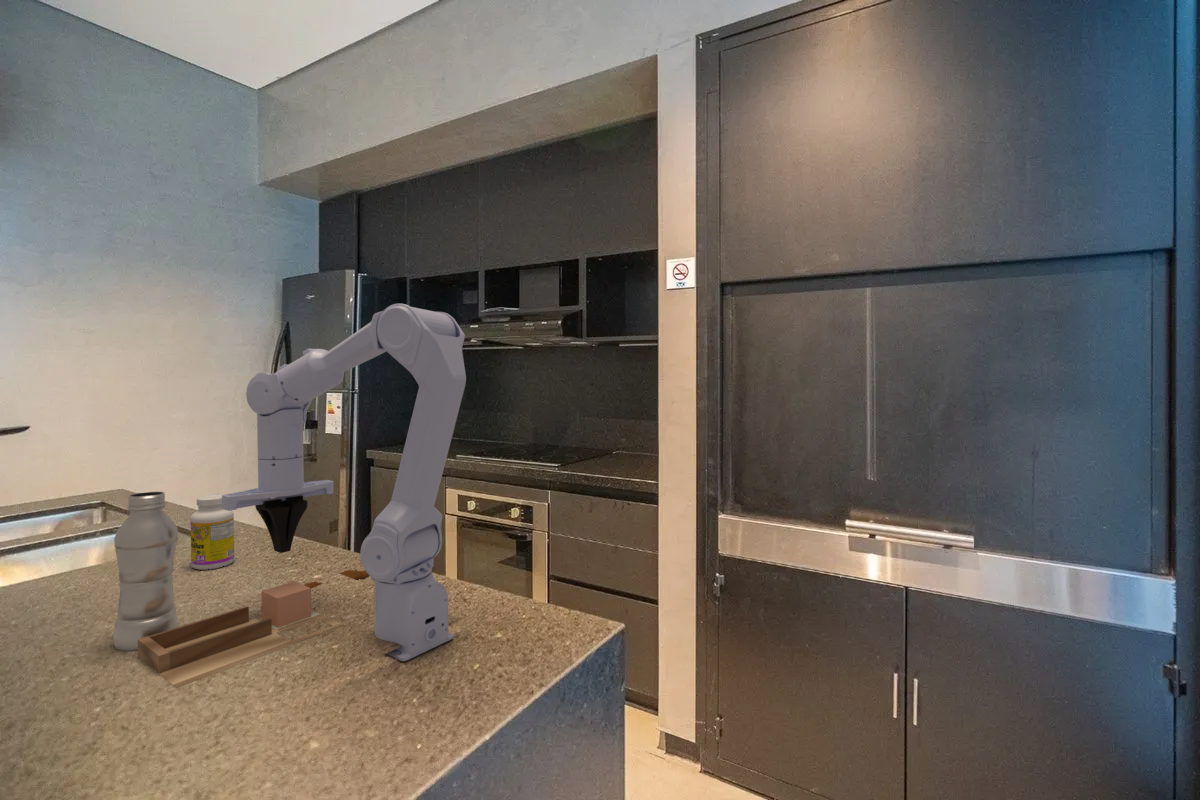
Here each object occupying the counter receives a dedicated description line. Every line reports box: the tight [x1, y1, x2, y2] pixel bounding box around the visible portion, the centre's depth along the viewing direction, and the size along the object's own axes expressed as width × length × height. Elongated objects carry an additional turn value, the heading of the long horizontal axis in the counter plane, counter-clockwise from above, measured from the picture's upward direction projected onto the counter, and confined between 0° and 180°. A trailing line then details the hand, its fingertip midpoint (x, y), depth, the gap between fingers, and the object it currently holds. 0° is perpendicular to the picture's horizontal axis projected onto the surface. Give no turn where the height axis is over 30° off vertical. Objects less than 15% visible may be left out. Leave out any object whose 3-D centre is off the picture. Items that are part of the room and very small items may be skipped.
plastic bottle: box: [112, 491, 179, 652], centre depth 71 cm, size 6×7×20 cm
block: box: [260, 581, 312, 628], centre depth 78 cm, size 4×4×4 cm
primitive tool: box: [303, 569, 371, 590], centre depth 92 cm, size 19×6×4 cm, turn 163°
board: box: [137, 606, 344, 689], centre depth 71 cm, size 12×19×4 cm, turn 145°
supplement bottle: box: [190, 494, 235, 571], centre depth 104 cm, size 7×7×13 cm
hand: (282, 550), depth 81 cm, fingers closed
